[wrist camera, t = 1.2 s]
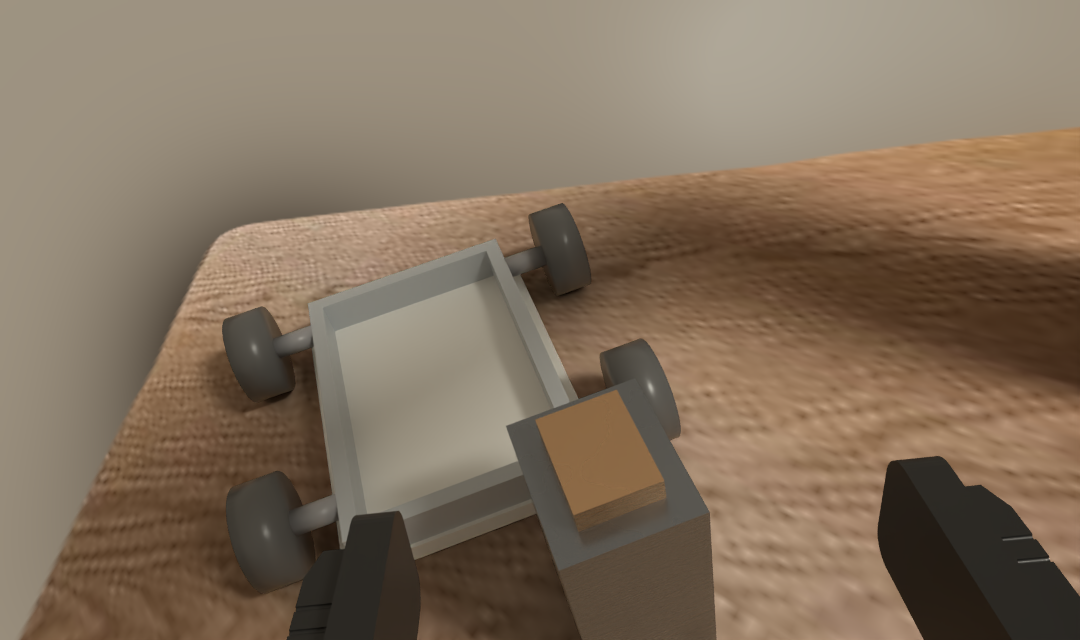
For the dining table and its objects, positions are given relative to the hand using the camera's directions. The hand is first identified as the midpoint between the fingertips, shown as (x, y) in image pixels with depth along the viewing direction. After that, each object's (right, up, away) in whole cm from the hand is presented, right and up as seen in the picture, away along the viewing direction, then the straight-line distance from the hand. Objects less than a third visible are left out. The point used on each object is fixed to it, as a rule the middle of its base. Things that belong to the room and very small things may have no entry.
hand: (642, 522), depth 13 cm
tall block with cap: (+2, -8, +20) cm, 22 cm away
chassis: (-7, -1, +30) cm, 31 cm away
